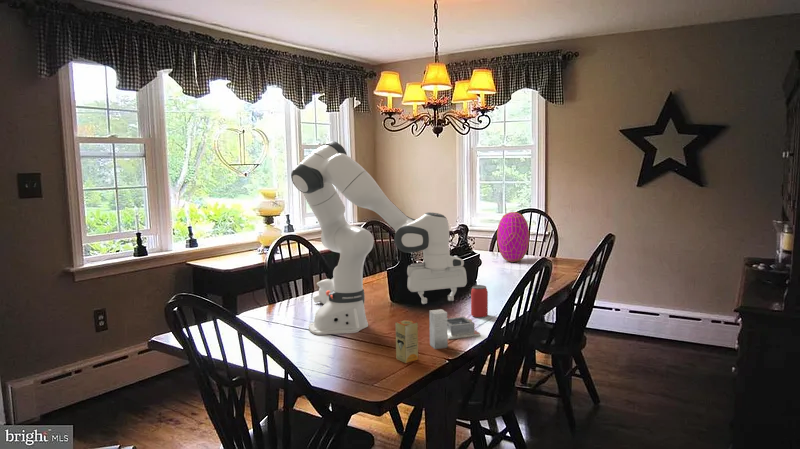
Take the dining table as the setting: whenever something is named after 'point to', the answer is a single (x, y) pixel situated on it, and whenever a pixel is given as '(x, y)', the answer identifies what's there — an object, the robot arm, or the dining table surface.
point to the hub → (460, 328)
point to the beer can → (479, 301)
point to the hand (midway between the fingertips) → (437, 301)
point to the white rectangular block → (438, 329)
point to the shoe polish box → (407, 341)
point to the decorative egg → (513, 236)
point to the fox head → (324, 290)
